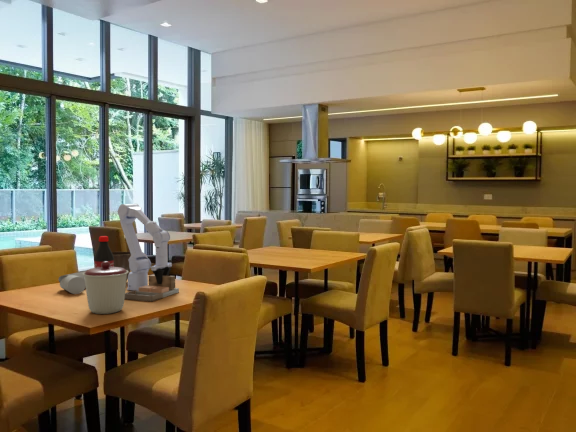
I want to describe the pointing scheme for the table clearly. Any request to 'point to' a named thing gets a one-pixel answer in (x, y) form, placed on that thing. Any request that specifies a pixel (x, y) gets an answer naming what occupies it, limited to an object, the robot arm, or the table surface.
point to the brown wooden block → (163, 281)
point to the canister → (105, 288)
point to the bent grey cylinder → (73, 282)
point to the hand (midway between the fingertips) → (161, 283)
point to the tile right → (159, 289)
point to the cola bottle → (103, 253)
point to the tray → (142, 296)
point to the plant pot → (122, 260)
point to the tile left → (146, 288)
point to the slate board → (170, 292)
